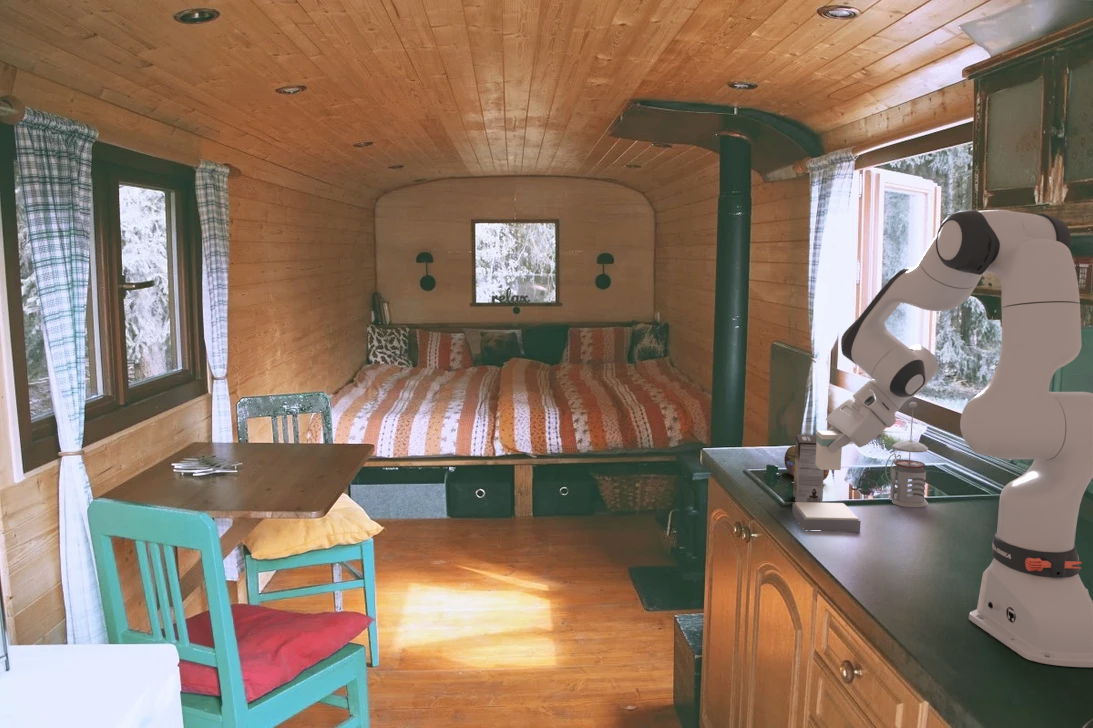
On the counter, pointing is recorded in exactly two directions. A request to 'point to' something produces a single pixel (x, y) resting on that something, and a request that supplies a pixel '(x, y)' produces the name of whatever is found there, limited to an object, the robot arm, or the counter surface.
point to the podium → (826, 517)
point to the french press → (908, 474)
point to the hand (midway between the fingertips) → (825, 447)
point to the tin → (790, 461)
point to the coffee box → (807, 471)
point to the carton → (827, 451)
